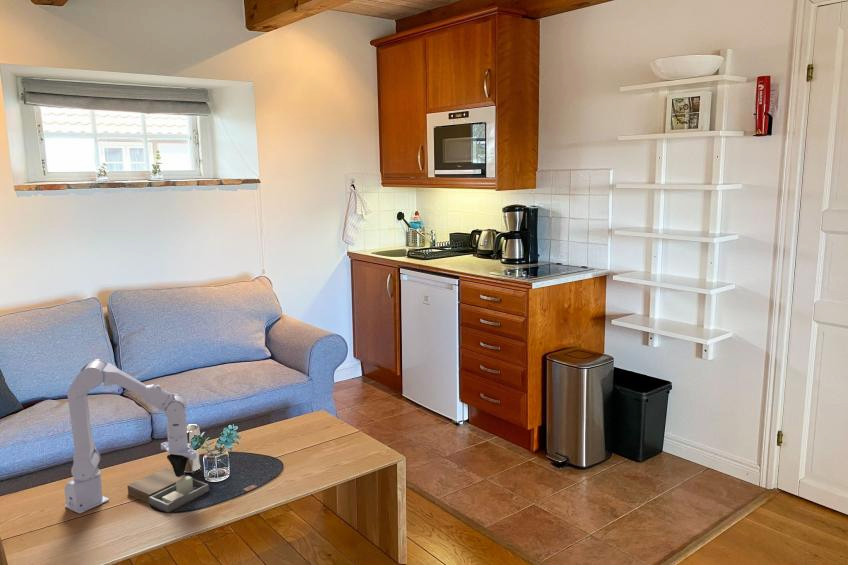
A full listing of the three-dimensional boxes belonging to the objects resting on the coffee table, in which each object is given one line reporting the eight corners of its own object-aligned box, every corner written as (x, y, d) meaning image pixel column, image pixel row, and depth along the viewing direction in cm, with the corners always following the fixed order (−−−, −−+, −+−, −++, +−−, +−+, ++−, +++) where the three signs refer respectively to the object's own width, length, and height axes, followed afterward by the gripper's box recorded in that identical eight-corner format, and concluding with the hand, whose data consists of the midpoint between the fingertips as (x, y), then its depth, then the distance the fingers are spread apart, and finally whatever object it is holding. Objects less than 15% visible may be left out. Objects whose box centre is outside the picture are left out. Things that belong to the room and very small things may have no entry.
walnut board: (150, 503, 197) (149, 494, 197) (128, 494, 203) (127, 485, 203) (188, 484, 209) (188, 476, 208) (166, 476, 215) (166, 467, 214)
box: (168, 512, 192) (167, 505, 192) (149, 504, 197) (148, 497, 196) (209, 491, 205) (208, 484, 204) (190, 484, 209) (190, 477, 209)
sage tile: (176, 494, 202) (180, 496, 201) (175, 481, 201) (179, 483, 200) (189, 489, 206) (193, 490, 204) (188, 475, 205) (192, 477, 204)
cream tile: (162, 497, 196) (162, 503, 197) (171, 501, 194) (172, 507, 194) (174, 491, 200) (175, 497, 201) (184, 494, 198) (184, 501, 198)
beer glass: (175, 471, 218) (173, 429, 216) (192, 463, 224) (190, 422, 221) (190, 476, 215) (187, 433, 212) (206, 468, 221) (204, 426, 218)
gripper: (203, 435, 201) (205, 476, 203) (173, 425, 209) (175, 465, 211) (184, 443, 195) (186, 485, 198) (154, 432, 203) (156, 473, 205)
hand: (179, 475), depth 204 cm, fingers closed
